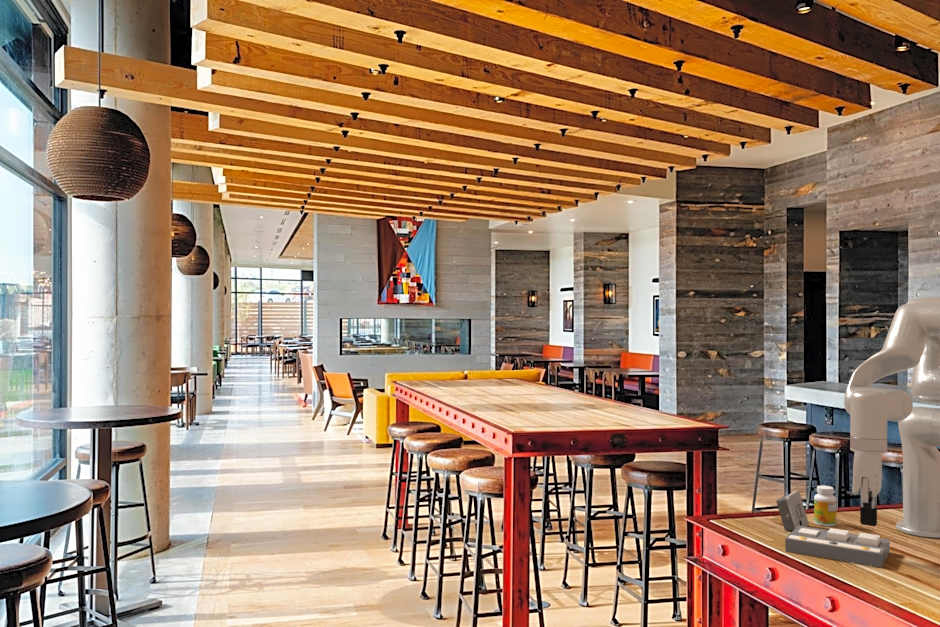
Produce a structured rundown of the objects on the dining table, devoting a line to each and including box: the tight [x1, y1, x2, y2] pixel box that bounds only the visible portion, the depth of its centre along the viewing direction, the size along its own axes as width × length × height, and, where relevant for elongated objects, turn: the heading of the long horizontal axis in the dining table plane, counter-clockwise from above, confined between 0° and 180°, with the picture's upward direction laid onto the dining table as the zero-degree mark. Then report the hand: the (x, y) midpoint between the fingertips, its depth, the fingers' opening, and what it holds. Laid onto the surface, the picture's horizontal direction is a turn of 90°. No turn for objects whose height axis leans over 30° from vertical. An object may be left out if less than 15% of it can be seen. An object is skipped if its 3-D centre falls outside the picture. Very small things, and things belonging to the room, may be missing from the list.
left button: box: [798, 528, 819, 537], centre depth 181 cm, size 4×4×2 cm
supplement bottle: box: [813, 485, 838, 527], centre depth 199 cm, size 5×5×10 cm
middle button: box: [827, 527, 850, 542], centre depth 177 cm, size 4×4×2 cm
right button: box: [858, 532, 881, 547], centre depth 173 cm, size 4×4×2 cm
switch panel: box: [784, 526, 891, 568], centre depth 176 cm, size 13×20×3 cm, turn 54°
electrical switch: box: [775, 490, 810, 531], centre depth 196 cm, size 9×5×9 cm, turn 141°
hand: (868, 524), depth 173 cm, fingers closed
